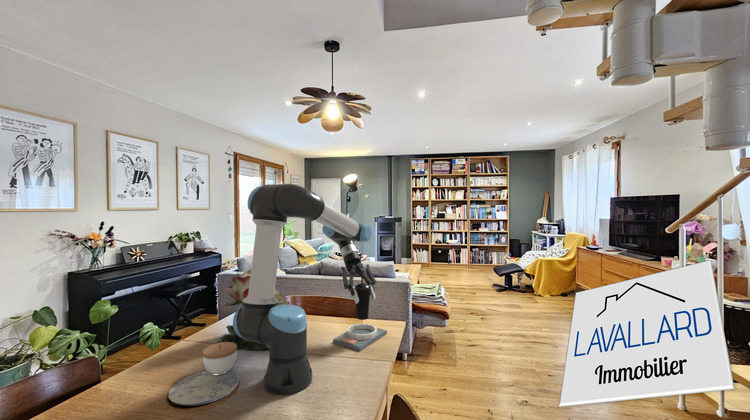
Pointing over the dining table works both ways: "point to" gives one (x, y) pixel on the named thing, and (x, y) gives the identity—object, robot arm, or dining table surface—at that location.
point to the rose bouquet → (238, 294)
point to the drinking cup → (362, 299)
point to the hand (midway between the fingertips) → (365, 300)
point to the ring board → (360, 342)
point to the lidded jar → (219, 357)
